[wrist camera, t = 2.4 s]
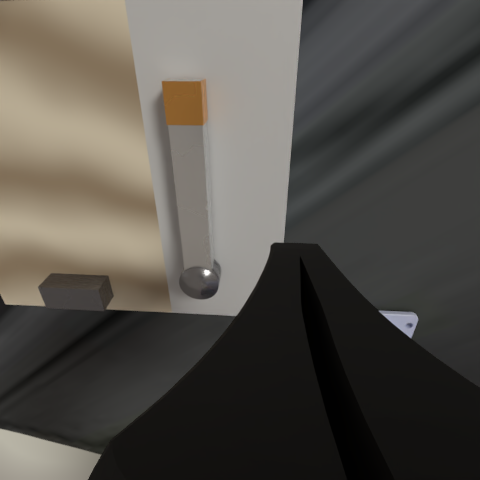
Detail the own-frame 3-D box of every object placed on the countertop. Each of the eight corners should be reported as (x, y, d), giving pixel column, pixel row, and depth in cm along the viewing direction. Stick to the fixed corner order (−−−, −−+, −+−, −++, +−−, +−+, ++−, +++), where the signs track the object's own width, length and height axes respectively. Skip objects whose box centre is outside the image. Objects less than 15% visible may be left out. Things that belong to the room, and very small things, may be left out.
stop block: (113, 296, 23) (104, 311, 21) (59, 293, 23) (46, 308, 22) (108, 275, 22) (98, 289, 20) (51, 273, 22) (37, 287, 21)
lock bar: (222, 286, 21) (219, 300, 20) (185, 284, 21) (180, 298, 20) (213, 78, 15) (208, 81, 14) (162, 78, 15) (153, 81, 14)
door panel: (177, 298, 24) (172, 312, 23) (18, 291, 25) (5, 304, 24) (136, 2, 15) (124, -2, 14) (-113, 5, 16) (-147, 2, 14)
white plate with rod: (277, 303, 24) (277, 318, 22) (177, 298, 24) (172, 312, 23) (299, 1, 14) (303, -4, 13) (136, 2, 15) (124, -2, 14)
